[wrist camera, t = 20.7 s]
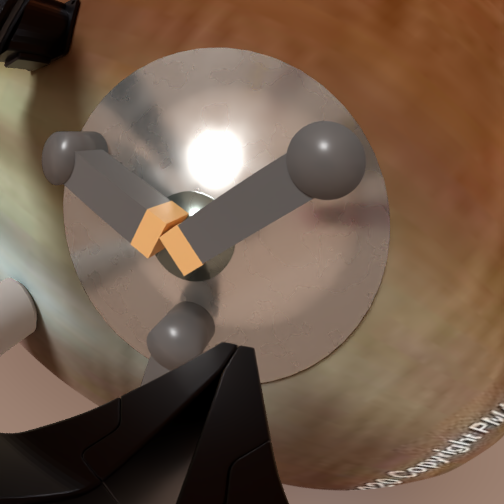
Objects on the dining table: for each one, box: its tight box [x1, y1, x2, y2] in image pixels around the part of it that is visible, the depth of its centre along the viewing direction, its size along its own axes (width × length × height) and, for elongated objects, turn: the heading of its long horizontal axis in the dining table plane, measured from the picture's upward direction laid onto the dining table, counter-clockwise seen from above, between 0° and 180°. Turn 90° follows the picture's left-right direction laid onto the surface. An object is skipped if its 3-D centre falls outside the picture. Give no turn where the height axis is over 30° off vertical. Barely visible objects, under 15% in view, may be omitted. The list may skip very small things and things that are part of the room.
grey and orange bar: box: [140, 301, 215, 387], centre depth 21 cm, size 11×4×4 cm, turn 155°
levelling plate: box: [63, 48, 390, 383], centre depth 20 cm, size 25×25×2 cm
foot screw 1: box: [42, 131, 189, 258], centre depth 18 cm, size 11×4×4 cm, turn 56°
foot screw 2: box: [159, 121, 366, 276], centre depth 16 cm, size 11×4×4 cm, turn 123°
